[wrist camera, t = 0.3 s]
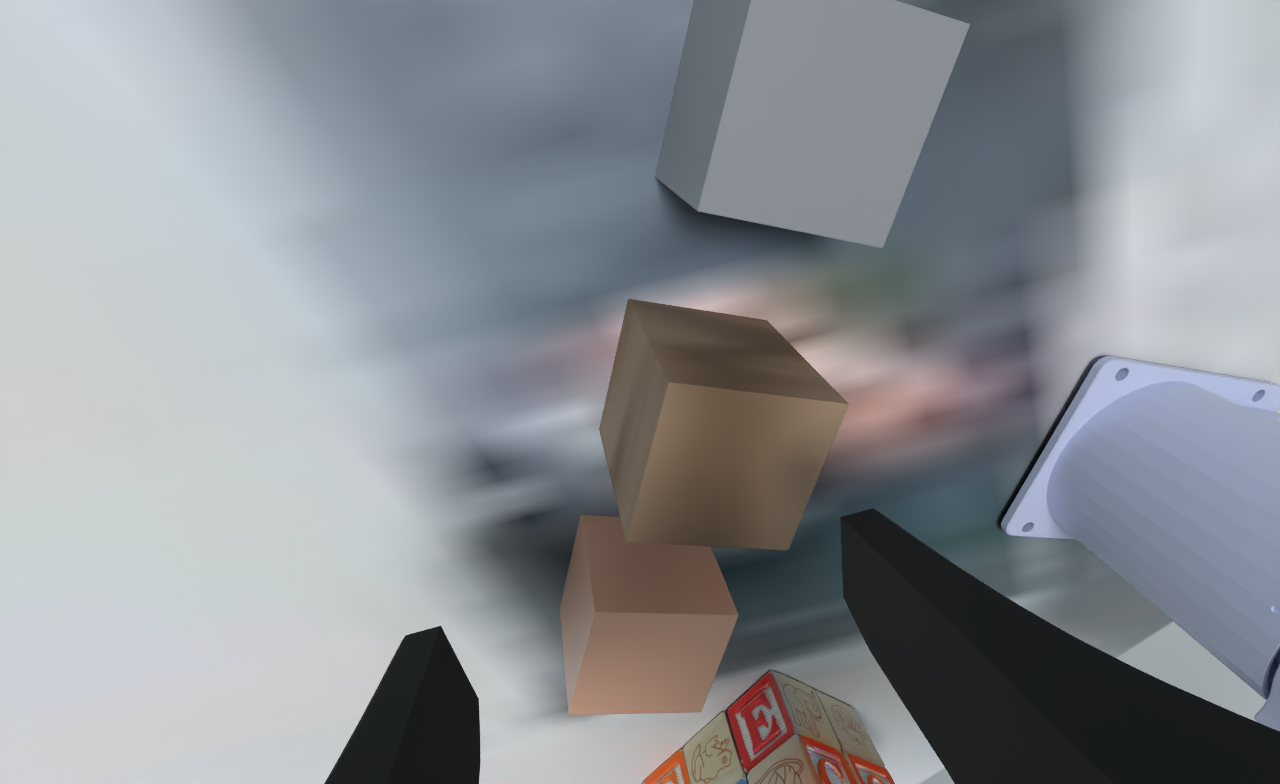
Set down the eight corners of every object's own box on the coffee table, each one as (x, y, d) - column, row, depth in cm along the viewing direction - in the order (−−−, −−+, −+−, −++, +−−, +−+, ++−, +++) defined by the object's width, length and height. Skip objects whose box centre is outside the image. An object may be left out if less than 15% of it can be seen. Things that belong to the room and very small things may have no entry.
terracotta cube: (700, 520, 23) (738, 615, 19) (671, 609, 25) (701, 712, 21) (580, 512, 22) (594, 612, 18) (559, 607, 24) (568, 715, 20)
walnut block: (766, 319, 19) (848, 404, 15) (726, 441, 21) (788, 550, 17) (627, 298, 18) (668, 382, 14) (599, 428, 20) (626, 542, 15)
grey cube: (859, 33, 16) (970, 23, 12) (802, 207, 18) (882, 248, 14) (696, -16, 15) (762, -43, 11) (654, 176, 17) (697, 211, 13)
